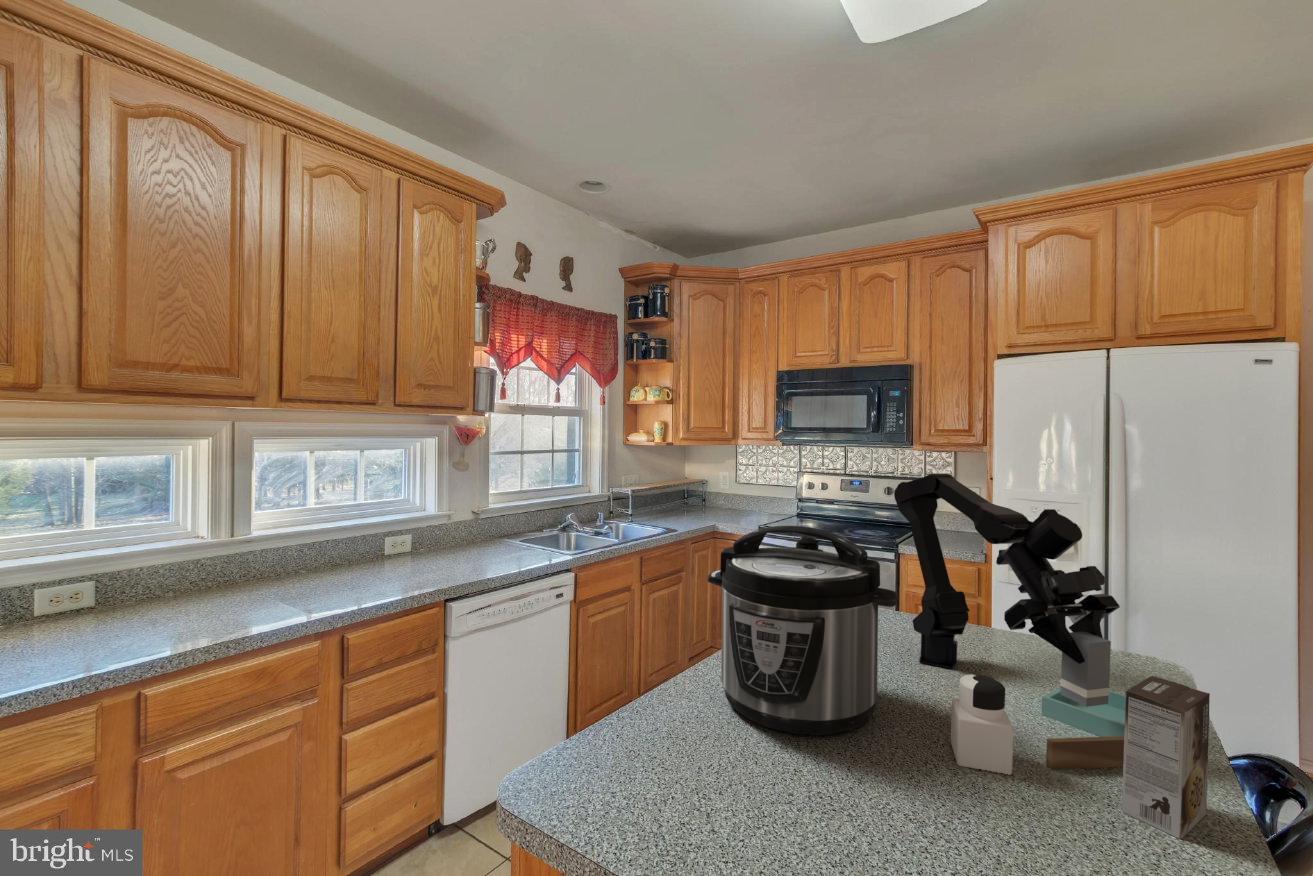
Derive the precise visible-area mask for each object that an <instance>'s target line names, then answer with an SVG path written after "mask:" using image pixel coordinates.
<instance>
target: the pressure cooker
mask: <svg viewBox="0 0 1313 876" xmlns="http://www.w3.org/2000/svg"><path fill="white" fill-rule="evenodd" d="M768 533H795V534H799V535H802V536H800V537H799V538H798V539H796V543H795V547H762V548H761V547H760V546H761V544H762V543H763V541H764V539H765V537H766V535H767V534H768ZM816 538H818V539H823V540H827V541H830V542H831V543H832V546H833V547H834V549H835V552H833V551H828V550H824V549H821V548H819V547H820V546H819V543H820V541H819V540H817V539H816ZM706 580H707V581H706V582H708V583H710V584H712V585H715V586H717V587H721V666H720V667H721V676H720V679H721V685H722V688H723V690H724V695H725V698H726V700H727V701H728V703H729V704H730V705H731V707H732V708H733V709H734V710H735V711H736V712H738V714H740V715H742V716H743V717H745V718H747V719H748V720H750V721H752V722H753V723H756V724H759V725H761V726H763V727H765V728H770V729H773V730H776V731H780V732H786V733H791V734H797V735H813V736H821V735H822V736H823V735H833V734H834V735H835V734H838V733H843V732H848V731H851V730H853V729H857V728H858V727H860V726H862V725H863V724H864V723H865V722H867V721H868V719H869V718H870V717H871V716H872V714H873V711H874V710H875V708H876V702H877V698H878V666H879V665H878V663H879V661H878V660H879V659H878V658H879V656H878V655H879V654H878V653H879V652H878V651H879V650H878V649H879V647H878V645H879V644H878V642H879V606H880V607H886V608H887V607H888V608H893V607H895V606H896V605H897V604H898V595H899V594H898V592H897V591H895V590H891V589H889V588H888V589H887V588H882V587H881V564H880V563H879V561H878V560H876V559H868V551H866V550H865V549H864V548H863V547H861V546H860V545H858V544H856V543H855V542H853V541H852V540H849V539H848V538H845V537H843V536H841V535H839V534H836V533H833V532H832V531H831V532H830V531H827V530H824V529H819V528H816V527H815V528H814V527H808V526H800V525H776V526H768V527H765V528H759V529H757V530H754V531H751V532H749V533H746V534H744V535H742V536H740V537H739V538H738V539H736V540H735V541H734V542H733V544H732V546H728V547H726V548H723V549H722V550H721V552H720V569H717V570H714V571H712V572H710V573H709V574H708V576H707V579H706Z"/></svg>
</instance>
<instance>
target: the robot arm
mask: <svg viewBox="0 0 1313 876" xmlns="http://www.w3.org/2000/svg"><path fill="white" fill-rule="evenodd" d="M893 492H894V493H893V495H894V501H895V503H896V506H897V508H898V511H899V513H900V514H901V515H902V516H903V517H904V518H905V519H906V520H907V522H908V523H909V526H910V529H911V533H912V538H913V541H914V545H915V550H916V553H917V558H918V562H919V567H920V570H921V575H922V578H923V582H924V587H925V589H924V591H923V595H922V598H921V601H920V604H921V612H920V613H919V614H918V615H916V616H915V617H914V618H913V619H912V626H913V630H914V631H915V632H917V633H919V634H920V656H919V660H918V662H919V663H921V664H926V665H929V666H930V665H931V666H935V667H940V668H945V669H950V670H953V669H954V668H955V667H954V666H955V665H956V664H957V661H958V645H959V644H958V640H955V637H956V635H959V636H961V635H963V633H964V631H965V628H966V625H967V622H969V612H970V608H969V607H968V605H967V600H966V595H965V593H964V591H962V590H960V591H957V589H955V588H954V587H953V586H952V584H951V581H950V577H949V573H948V570H947V566H946V562H945V559H944V554H943V550H942V546H941V543H940V539H939V535H938V530H937V526H936V523H935V520H934V519H935V515H936V512H937V509H938V506H939V505H938V500H940V499H942V500H944V501H945V503H947V504H949V505H951V506H952V507H953V508H955V510H957V511H958V512H960V513H961V514H963V515H964V516H965V517H967V518H968V519H970V520H971V522H973V525H974V529H975V531H976V532H977V533H978V534H979V535H980V536H981V537H982V538H983V539H984V540H985V542H987V543H990V544H991V545H1005V544H1006V545H1008V544H1010V545H1009V546H1008V547H1007V548H1006V549H999V550H998V555H997V558H996V562H995V563H996V565H998V566H1000V565H1001V566H1002V565H1003V566H1004V565H1009V567H1010V568H1011V570H1012V572H1013V573H1014V575H1015V576H1016V577H1017V579H1018V581H1019V583H1020V584H1021V585H1020V586H1018V587H1017V590H1018V591H1019V592H1020V594H1027V595H1028V597H1029V598H1022V599H1019V600H1018V601H1017V602H1016V603H1014V604H1013V605H1012V606H1011V607H1009V608H1008V609H1007V610H1006V611H1004V618H1003V619H1004V622H1005V624H1006V625H1007V626H1008V628H1009V630H1010V631H1014V630H1016V631H1017V630H1024V629H1026V625H1027V622H1026V621H1027V620H1030V623H1031V625H1032V626H1031V627H1030V628H1029V629H1028V632H1029V633H1030V634H1035V635H1036V636H1038V637H1039V638H1041V639H1043V640H1044V641H1045V642H1047V643H1049V644H1050V645H1052V647H1054V648H1056V649H1057V650H1059V651H1060V652H1061V653H1062V652H1063V653H1064V654H1066V655H1067V656H1069V657H1070V658H1071V659H1073V660H1074V661H1075V662H1077V663H1078V664H1081V663H1083V662H1084V661H1085V660H1084V658H1083V656H1082V654H1081V652H1080V650H1079V648H1078V646H1077V645H1076V643H1075V641H1074V640H1073V638H1072V636H1071V634H1070V633H1071V632H1083V631H1085V632H1087V633H1090V634H1093V635H1096V636H1098V637H1101V638H1104V637H1103V633H1102V628H1101V621H1102V620H1103V619H1104V618H1106V617H1107V616H1109V615H1111V614H1112V613H1113V612H1115V611H1117V610H1118V609H1119V608H1120V607H1121V606H1120V604H1119V603H1118V601H1117V600H1116V599H1115V598H1114V597H1113V595H1111V594H1106V593H1098V594H1097V593H1096V594H1095V593H1094V594H1089V595H1087V596H1086V597H1084V594H1083V593H1086V592H1091V591H1096V592H1099V591H1103V588H1102V586H1104V585H1105V582H1106V577H1105V576H1104V574H1103V572H1101V571H1100V569H1098V567H1097V566H1096V565H1087V566H1086V567H1079V569H1078V571H1077V570H1076V571H1071V572H1070V571H1069V572H1065V571H1064V570H1062V569H1055V568H1053V565H1052V564H1051V563H1050V561H1049V560H1056V559H1058V558H1059V557H1061V556H1062V555H1064V553H1066V552H1067V551H1068V550H1070V549H1071V548H1072V547H1073V546H1075V545H1076V544H1077V543H1078V542H1080V541H1081V540H1082V538H1083V532H1082V530H1081V528H1080V527H1079V525H1078V524H1077V523H1076V522H1074V521H1072V520H1071V519H1070V518H1068V517H1066V516H1064V515H1062V514H1060V513H1058V511H1057V510H1056V509H1054V508H1053V509H1051V508H1050V509H1049V508H1048V509H1044V510H1043V511H1041V512H1040V514H1039V515H1038V516H1037V518H1036V519H1034V520H1033V521H1031V520H1029V519H1028V517H1027V516H1025V515H1024V514H1023V513H1021V512H1018V511H1016V510H1014V509H1012V508H1009V507H1006V506H1001V505H998V504H995V503H992V502H990V501H988V500H987V499H985V498H984V497H982V496H981V495H980V494H978V493H976V492H975V491H973V490H972V489H971V488H969V487H967V486H966V485H964V484H963V483H961V482H960V481H958V480H957V479H956V478H955V477H954V476H953V474H949V473H941V472H939V473H933V472H932V473H930V474H928V475H925V476H924V477H920V478H917V479H913V480H910V481H902V482H900V483H897V486H896V488H895V490H894V491H893ZM1083 597H1084V598H1083ZM1082 598H1083V599H1082ZM1080 599H1082V600H1080ZM1077 600H1080V601H1079V602H1077V603H1076V601H1077ZM1066 617H1068V618H1069V619H1070V621H1071V622H1072V624H1071V625H1070V626H1068V628H1067V625H1066V624H1067V623H1066ZM1069 630H1070V631H1071V632H1070V631H1069Z"/></svg>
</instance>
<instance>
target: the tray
mask: <svg viewBox="0 0 1313 876" xmlns="http://www.w3.org/2000/svg"><path fill="white" fill-rule="evenodd" d="M1060 692H1061V686H1060V687H1058V688H1056V689H1054V690H1052V691H1050V692H1049V693H1047V694H1045V695H1043V696H1042V697H1041V715H1042V716H1045V717H1048V718H1050V719H1053V720H1056V721H1058V722H1061V723H1064V724H1066V725H1069V726H1071V727H1074V728H1077V729H1080V730H1082V731H1085V732H1088V733H1090V734H1093V735H1095V736H1097V737H1113V736H1122V737H1125V707H1126V694H1123V693H1120V692H1118V691H1114V690H1110V689H1109V696H1108V704H1105V705H1097V706H1089V707H1085V706H1083V705H1081V704H1079V703H1077V702H1075V701H1073V700H1071V699H1069V698H1067V697H1065V696H1063V695H1061V694H1060Z"/></svg>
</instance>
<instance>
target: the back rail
mask: <svg viewBox="0 0 1313 876" xmlns="http://www.w3.org/2000/svg"><path fill="white" fill-rule="evenodd" d="M1045 759H1046V760H1045V763H1046V764H1045V766H1046V765H1047V766H1046V767H1047V768H1049V767H1050V768H1051V769H1050V768H1049V769H1050V770H1062V769H1061V768H1072V769H1093V768H1095V769H1096V768H1097V769H1098V768H1099V769H1100V768H1118V767H1119V768H1123V765H1124V737H1122V736H1113V737H1101V736H1087V737H1083V736H1082V737H1060V738H1059V737H1058V738H1057V737H1056V738H1055V737H1053V738H1046V757H1045Z"/></svg>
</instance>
